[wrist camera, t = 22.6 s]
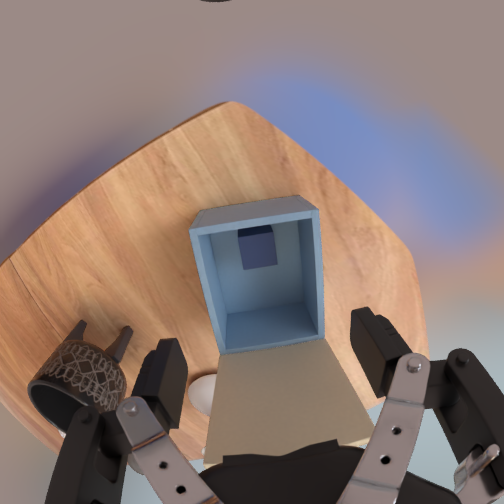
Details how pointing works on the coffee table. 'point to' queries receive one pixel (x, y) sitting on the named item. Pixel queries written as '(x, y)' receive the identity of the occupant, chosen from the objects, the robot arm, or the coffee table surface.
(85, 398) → the planter
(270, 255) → the block
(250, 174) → the coffee table surface
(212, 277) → the light blue open box
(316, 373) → the lid
